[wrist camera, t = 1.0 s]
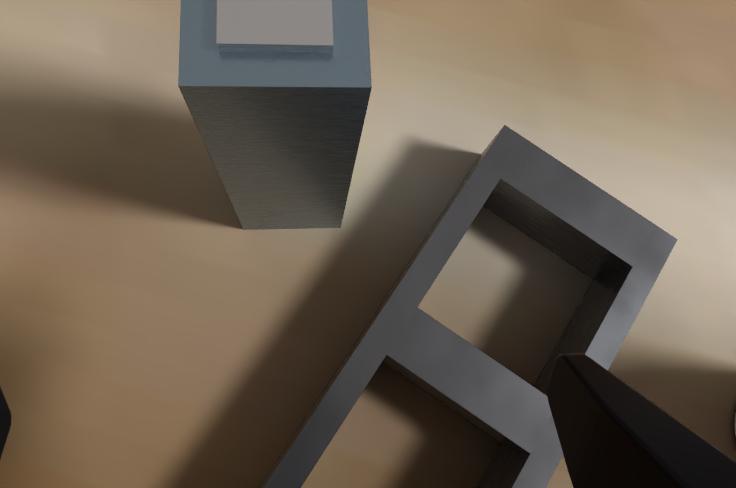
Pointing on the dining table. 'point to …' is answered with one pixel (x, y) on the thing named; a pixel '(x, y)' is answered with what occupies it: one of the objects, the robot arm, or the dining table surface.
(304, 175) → the light blue tall block
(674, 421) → the robot arm
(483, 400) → the grey slotted rack
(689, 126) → the dining table surface
